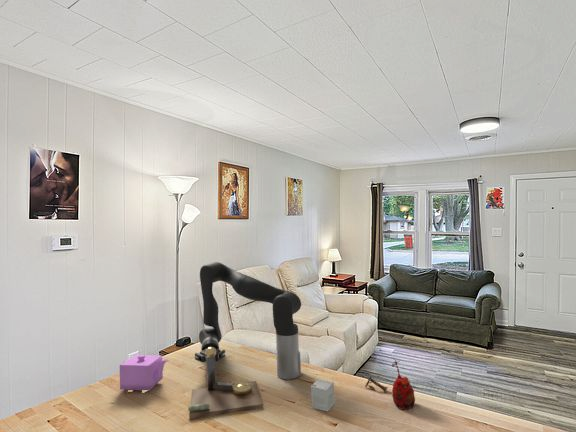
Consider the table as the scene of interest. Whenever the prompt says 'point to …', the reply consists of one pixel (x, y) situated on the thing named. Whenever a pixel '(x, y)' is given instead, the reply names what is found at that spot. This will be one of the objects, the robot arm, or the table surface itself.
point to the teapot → (141, 372)
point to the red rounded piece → (402, 391)
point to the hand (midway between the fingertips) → (210, 362)
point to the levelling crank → (237, 387)
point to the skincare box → (322, 395)
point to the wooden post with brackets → (375, 384)
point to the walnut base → (222, 402)
